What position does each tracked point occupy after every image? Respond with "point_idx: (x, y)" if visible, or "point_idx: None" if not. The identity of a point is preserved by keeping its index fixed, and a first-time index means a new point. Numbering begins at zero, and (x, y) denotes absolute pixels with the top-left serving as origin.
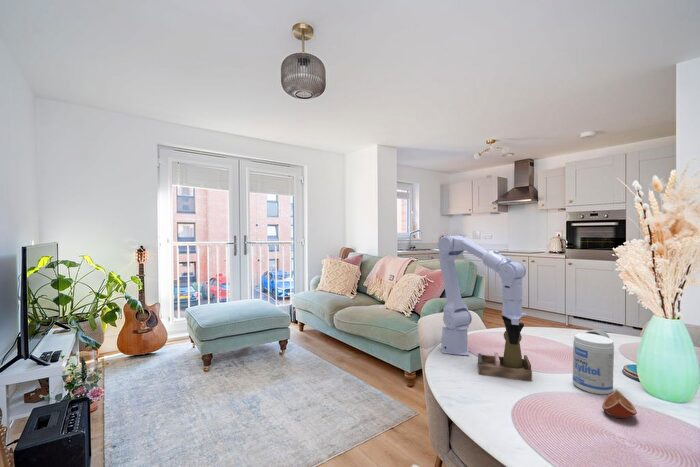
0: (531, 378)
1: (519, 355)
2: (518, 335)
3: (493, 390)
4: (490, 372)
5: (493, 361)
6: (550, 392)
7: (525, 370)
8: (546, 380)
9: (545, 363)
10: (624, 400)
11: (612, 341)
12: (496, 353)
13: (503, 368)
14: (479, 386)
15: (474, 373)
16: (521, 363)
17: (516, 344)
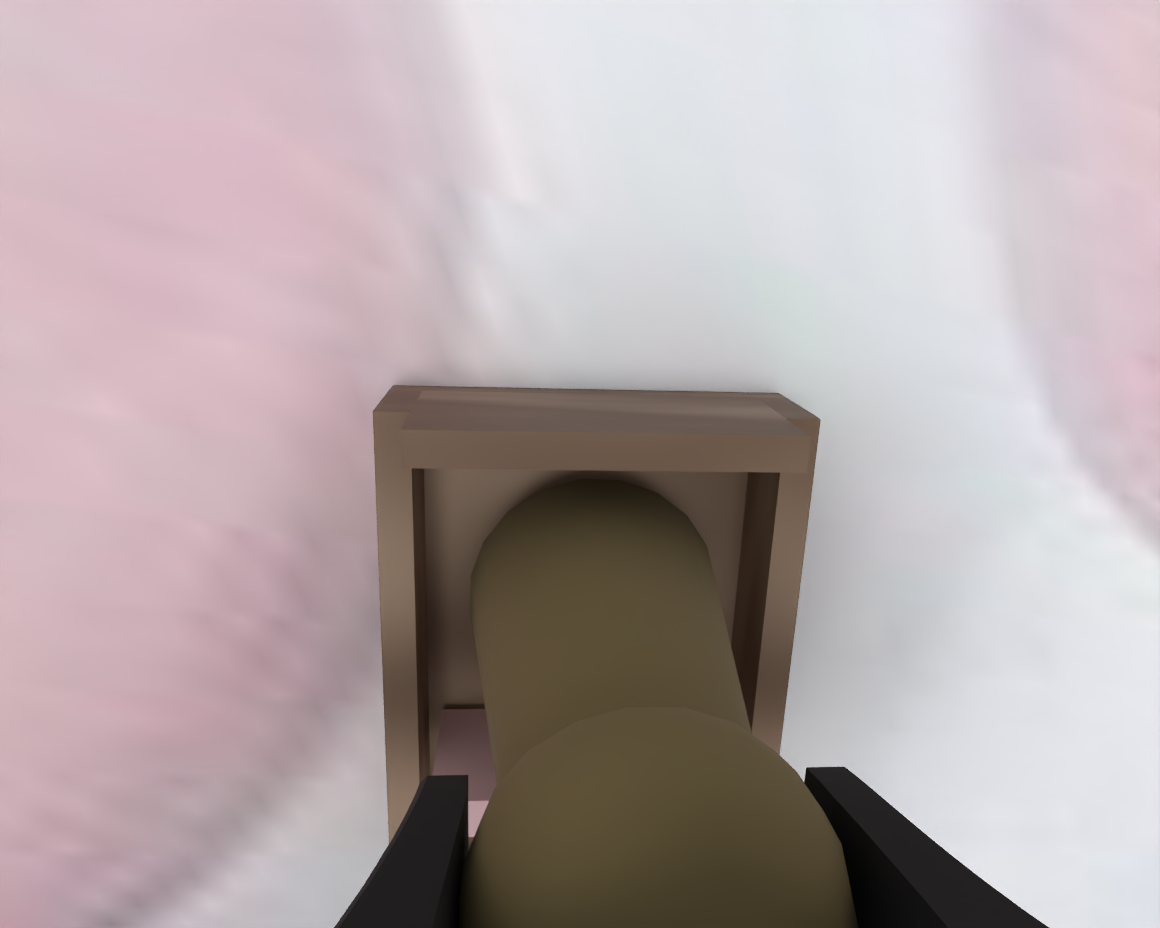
0: (788, 402)
1: (710, 604)
2: (1008, 915)
3: (1045, 757)
4: None
5: (425, 759)
6: (1022, 254)
7: (807, 490)
8: (714, 217)
9: (83, 69)
10: None
11: None
12: (468, 818)
13: (782, 717)
14: (983, 856)
15: None
16: (673, 527)
17: (852, 779)
